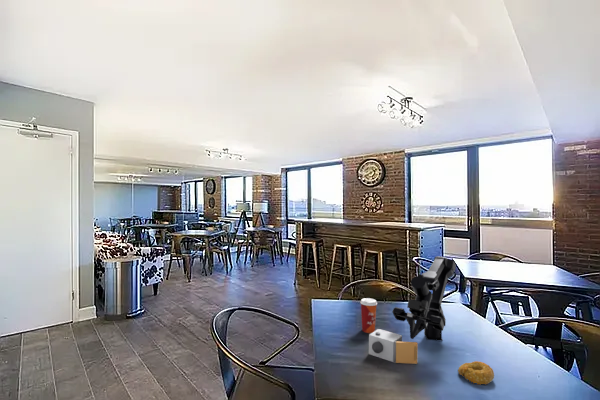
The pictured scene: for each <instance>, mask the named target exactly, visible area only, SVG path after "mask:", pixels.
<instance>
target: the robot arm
mask: <svg viewBox="0 0 600 400" xmlns="http://www.w3.org/2000/svg"><path fill="white" fill-rule="evenodd" d="M430 265H431V266H429V268H428V270H427V271H425V272H422V273H421V274H418V275H417V276H414V277H413V278H412V279H410V285H411V288H412V291H413V292H414V294H415V295H416V296H415V299H410V298H409V299H408V300H407V301H408V302H407V306H406V308H407V309H408V311H409V312H408V311H407V312H406V311H405V308H402V307H397V306H395V307H394V308H393V309H392V311H391V313H392V314H393V316H394V318H395V320H397V321H400V322H405V321H406V322H407V323H408V325H409V337H410V340H411V339H412V340H414V339H415V338H416V337H417V335H419V334H420V333H421V332H422V331H423V334H424V336H425V339H426V340H430V341H440V342H443V336H442V335H443V332H442V331H444V328H445V327H446V317H445V315H444V311H443V308H442V302H443V298H444V294H445V291H446V286H447V283H448V279H449V278H451V277H452V276H453V275H454V272H455V271H456V269H457V264H456V263H455V261H453V260H452V259H449V258H447V257H445V256H439V255H438V256H437V255H436V256H434V259H433V262H432V264H430ZM431 291H432V292H431Z"/></svg>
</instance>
